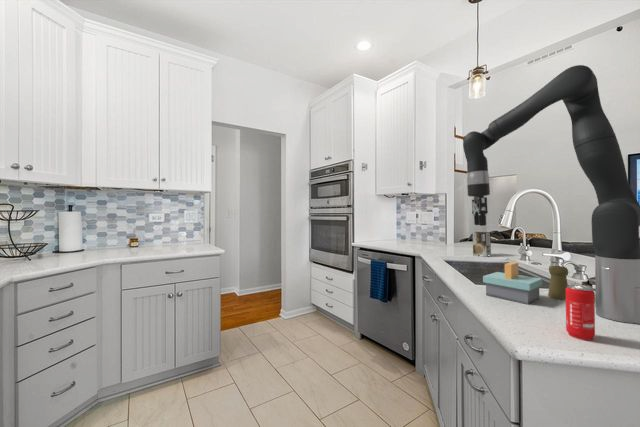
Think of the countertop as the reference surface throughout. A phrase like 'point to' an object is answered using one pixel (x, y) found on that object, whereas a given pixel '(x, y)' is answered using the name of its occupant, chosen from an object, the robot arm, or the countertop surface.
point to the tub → (512, 293)
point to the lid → (512, 278)
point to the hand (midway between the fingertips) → (480, 225)
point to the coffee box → (481, 243)
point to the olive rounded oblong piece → (558, 282)
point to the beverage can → (580, 312)
